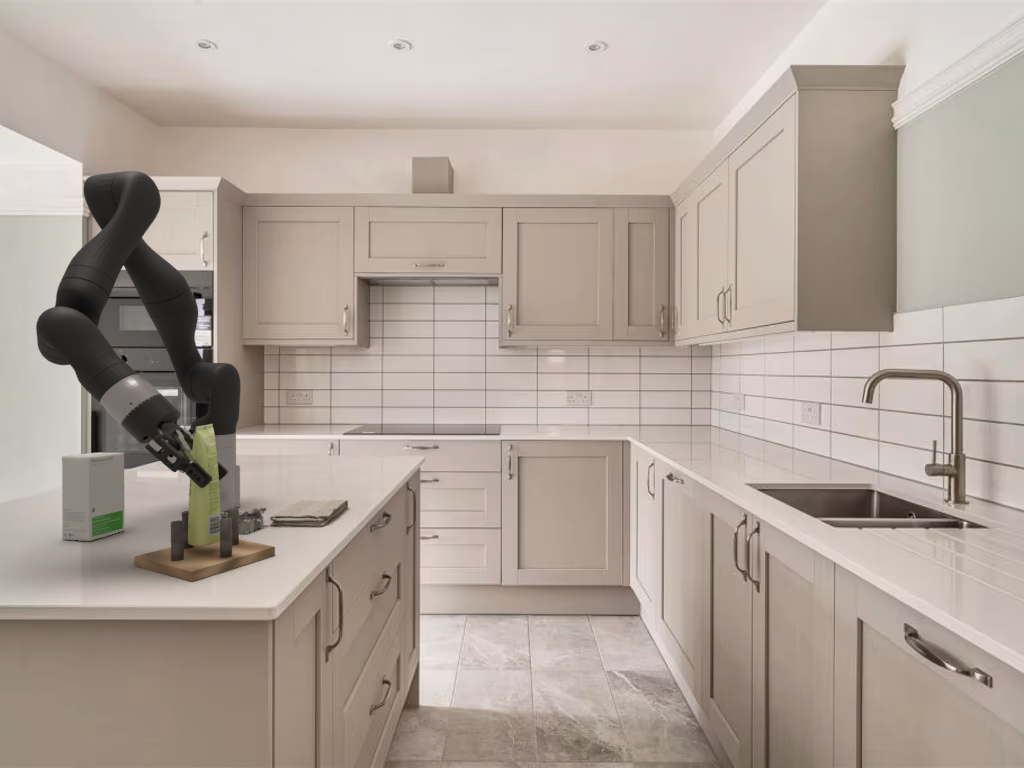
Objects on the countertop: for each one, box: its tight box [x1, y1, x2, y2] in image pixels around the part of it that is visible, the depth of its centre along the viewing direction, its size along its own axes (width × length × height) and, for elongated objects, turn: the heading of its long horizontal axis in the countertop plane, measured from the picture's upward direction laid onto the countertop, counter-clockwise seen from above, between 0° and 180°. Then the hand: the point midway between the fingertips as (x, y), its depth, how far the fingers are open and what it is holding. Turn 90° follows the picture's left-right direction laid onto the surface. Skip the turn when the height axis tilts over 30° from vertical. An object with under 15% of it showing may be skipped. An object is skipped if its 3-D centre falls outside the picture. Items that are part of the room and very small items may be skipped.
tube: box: [188, 424, 221, 546], centre depth 100 cm, size 6×5×20 cm
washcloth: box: [269, 499, 349, 528], centre depth 131 cm, size 12×18×3 cm, turn 1°
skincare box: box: [61, 451, 126, 542], centre depth 115 cm, size 8×7×16 cm
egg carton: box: [221, 507, 267, 535], centre depth 121 cm, size 11×8×4 cm
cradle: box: [133, 507, 276, 582], centre depth 100 cm, size 15×15×8 cm
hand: (215, 480), depth 100 cm, fingers closed on tube, 6 cm apart
